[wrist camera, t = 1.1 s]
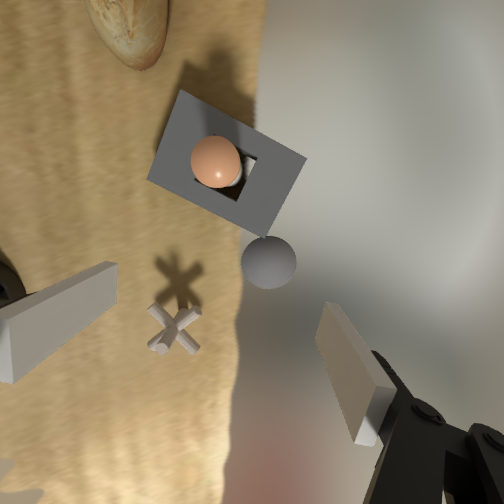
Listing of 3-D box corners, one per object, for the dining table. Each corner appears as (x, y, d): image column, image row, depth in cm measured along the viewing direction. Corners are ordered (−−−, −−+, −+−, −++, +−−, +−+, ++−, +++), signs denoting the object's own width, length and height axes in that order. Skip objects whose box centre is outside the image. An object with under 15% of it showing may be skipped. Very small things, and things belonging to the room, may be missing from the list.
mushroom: (207, 179, 36) (183, 173, 25) (221, 147, 35) (202, 125, 23) (237, 194, 37) (226, 196, 25) (251, 163, 36) (248, 150, 24)
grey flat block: (159, 180, 37) (146, 179, 32) (190, 102, 34) (180, 88, 29) (263, 233, 38) (264, 238, 34) (301, 162, 35) (307, 158, 31)
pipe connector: (185, 275, 40) (161, 301, 31) (223, 316, 42) (213, 354, 32) (144, 308, 42) (110, 343, 32) (182, 347, 44) (161, 391, 34)
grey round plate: (232, 273, 40) (232, 274, 40) (256, 226, 38) (256, 226, 38) (279, 296, 41) (279, 297, 40) (306, 251, 39) (306, 252, 38)
